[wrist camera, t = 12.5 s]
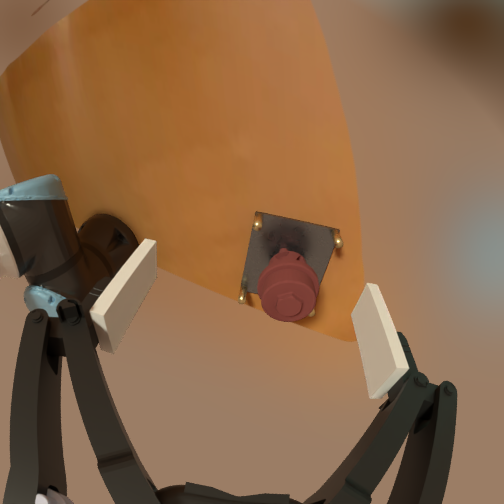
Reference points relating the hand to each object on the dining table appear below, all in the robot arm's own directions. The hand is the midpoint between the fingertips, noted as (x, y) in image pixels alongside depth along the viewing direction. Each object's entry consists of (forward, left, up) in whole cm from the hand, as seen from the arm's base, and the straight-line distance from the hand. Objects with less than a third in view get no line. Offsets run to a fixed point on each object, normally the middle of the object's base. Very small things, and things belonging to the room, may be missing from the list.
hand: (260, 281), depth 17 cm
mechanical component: (+6, -17, -30) cm, 35 cm away
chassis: (+6, -17, -31) cm, 36 cm away
